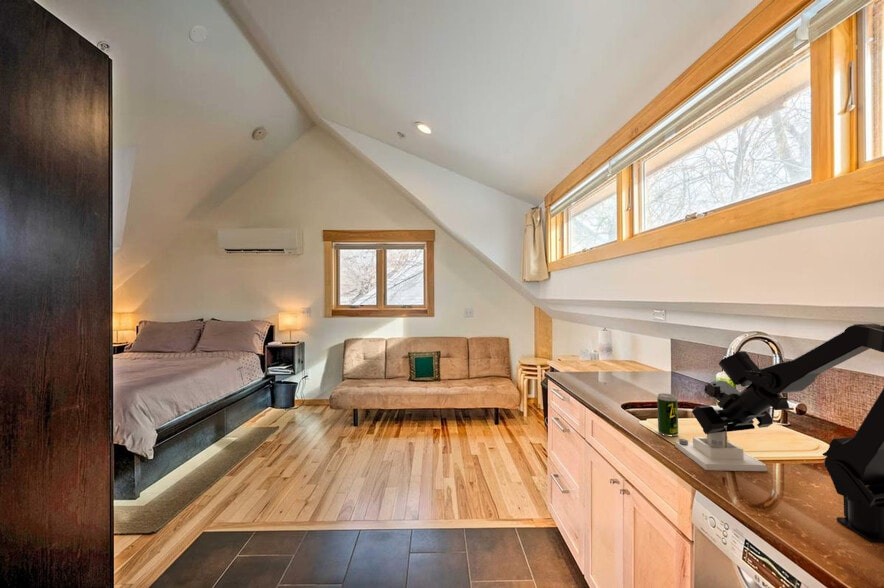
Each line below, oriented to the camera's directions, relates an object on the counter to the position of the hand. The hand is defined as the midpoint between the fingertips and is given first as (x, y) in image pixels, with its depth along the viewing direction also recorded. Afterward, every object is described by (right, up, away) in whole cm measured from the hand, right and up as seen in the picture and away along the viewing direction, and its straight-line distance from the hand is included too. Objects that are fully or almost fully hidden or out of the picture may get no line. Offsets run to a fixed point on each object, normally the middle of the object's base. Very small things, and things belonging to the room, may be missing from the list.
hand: (712, 431), depth 99 cm
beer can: (-2, -7, +16) cm, 18 cm away
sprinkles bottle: (0, -7, -1) cm, 7 cm away
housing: (0, -7, -1) cm, 7 cm away
